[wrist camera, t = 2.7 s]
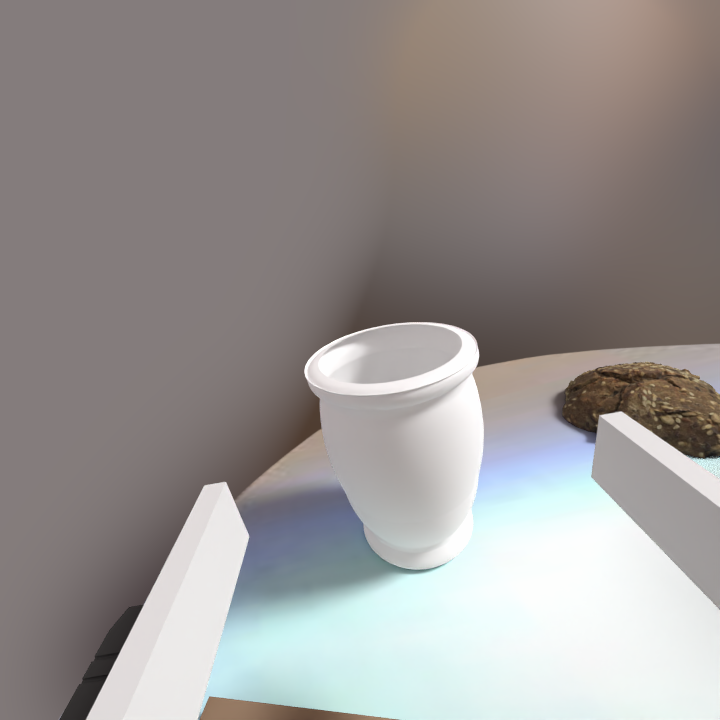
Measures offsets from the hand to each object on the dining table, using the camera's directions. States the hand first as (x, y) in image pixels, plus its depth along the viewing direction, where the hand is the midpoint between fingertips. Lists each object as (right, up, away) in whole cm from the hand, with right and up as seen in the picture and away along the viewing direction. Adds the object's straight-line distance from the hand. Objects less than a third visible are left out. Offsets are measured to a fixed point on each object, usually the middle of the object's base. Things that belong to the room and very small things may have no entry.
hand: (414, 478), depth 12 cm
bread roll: (+25, -1, +21) cm, 33 cm away
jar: (+3, -9, +15) cm, 17 cm away
